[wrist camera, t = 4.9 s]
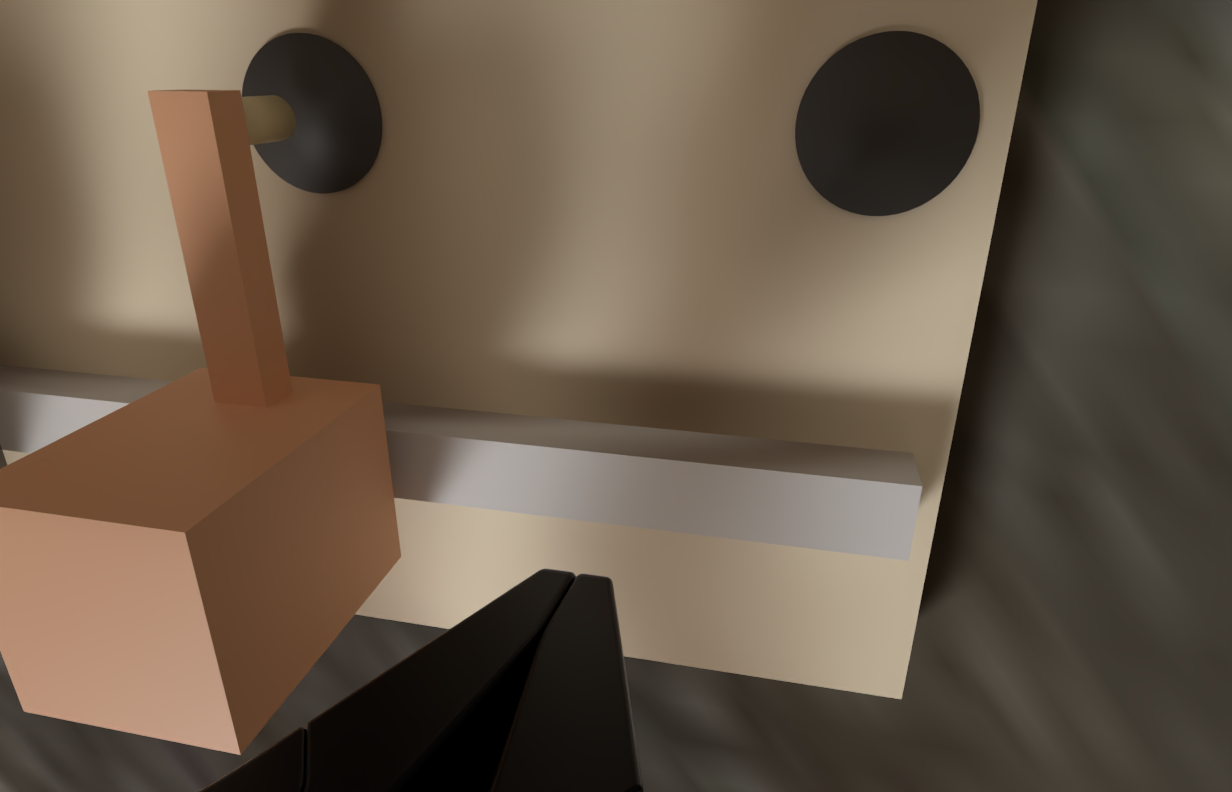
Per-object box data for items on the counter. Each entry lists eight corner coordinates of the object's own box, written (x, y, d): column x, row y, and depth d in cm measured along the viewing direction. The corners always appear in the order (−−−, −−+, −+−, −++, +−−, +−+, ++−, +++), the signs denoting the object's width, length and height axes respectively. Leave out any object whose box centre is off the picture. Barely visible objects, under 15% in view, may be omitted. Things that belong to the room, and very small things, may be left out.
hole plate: (1013, -34, 10) (1307, -167, 4) (892, 640, 14) (955, 1030, 9) (-138, -12, 14) (-829, -70, 8) (40, 518, 18) (-322, 735, 12)
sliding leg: (371, 88, 10) (77, 103, 6) (419, 533, 13) (240, 755, 9) (176, 86, 11) (-214, 99, 7) (262, 512, 14) (23, 711, 9)
